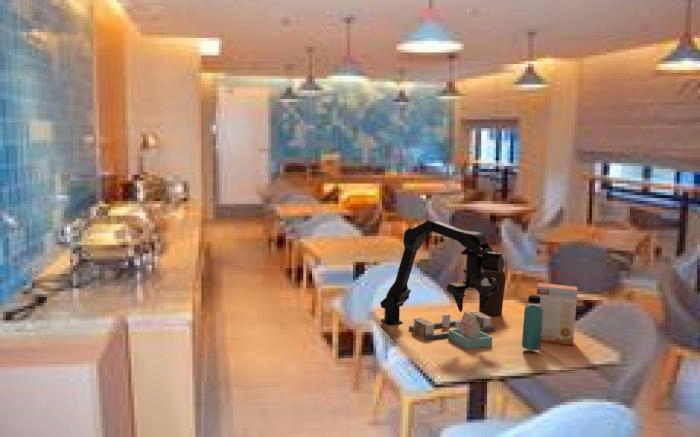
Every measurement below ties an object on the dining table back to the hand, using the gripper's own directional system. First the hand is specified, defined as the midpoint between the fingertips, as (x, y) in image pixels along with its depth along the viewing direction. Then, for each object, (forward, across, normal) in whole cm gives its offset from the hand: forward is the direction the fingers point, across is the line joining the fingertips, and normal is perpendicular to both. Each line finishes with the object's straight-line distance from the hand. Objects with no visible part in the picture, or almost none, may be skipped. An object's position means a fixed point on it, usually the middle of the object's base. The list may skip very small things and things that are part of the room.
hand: (471, 310), depth 228 cm
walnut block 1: (+12, -11, +13) cm, 21 cm away
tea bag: (+12, 0, 0) cm, 12 cm away
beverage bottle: (+12, +15, -16) cm, 25 cm away
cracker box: (+12, +31, -10) cm, 35 cm away
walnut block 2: (+12, +15, +14) cm, 23 cm away
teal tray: (+12, 0, -1) cm, 12 cm away
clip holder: (+12, +2, +13) cm, 18 cm away
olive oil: (+12, +31, +28) cm, 43 cm away
